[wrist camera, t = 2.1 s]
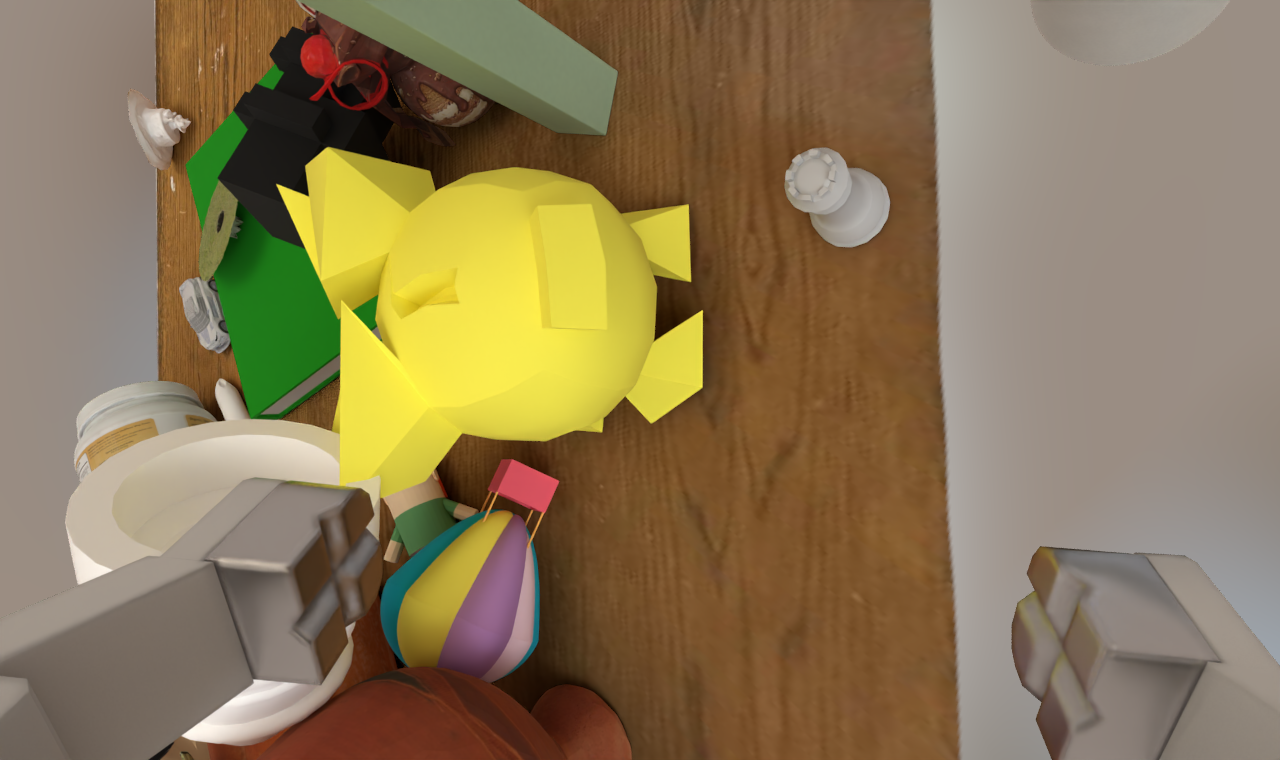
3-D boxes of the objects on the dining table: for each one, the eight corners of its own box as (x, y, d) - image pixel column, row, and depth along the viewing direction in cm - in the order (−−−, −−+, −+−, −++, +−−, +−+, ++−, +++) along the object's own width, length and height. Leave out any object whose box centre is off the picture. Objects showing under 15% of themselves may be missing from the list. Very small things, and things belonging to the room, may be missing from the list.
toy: (294, -18, 52) (180, 155, 47) (402, 21, 51) (297, 199, 47) (350, 91, 63) (262, 239, 59) (439, 124, 62) (357, 275, 58)
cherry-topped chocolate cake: (472, 173, 58) (300, 110, 45) (423, 112, 61) (249, 36, 48) (541, 74, 55) (377, -26, 42) (486, 14, 58) (317, -96, 45)
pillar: (568, 71, 54) (292, -106, 35) (618, 71, 52) (353, -118, 33) (556, 133, 54) (278, -9, 35) (606, 136, 52) (337, -14, 33)
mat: (236, 298, 66) (212, 293, 64) (212, 272, 74) (190, 267, 72) (271, 177, 64) (247, 168, 63) (243, 164, 72) (221, 156, 71)
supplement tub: (231, 579, 74) (185, 442, 80) (282, 516, 69) (228, 374, 75) (87, 610, 64) (47, 451, 70) (133, 539, 59) (85, 373, 65)
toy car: (218, 358, 76) (188, 357, 73) (201, 291, 78) (171, 287, 75) (237, 341, 74) (207, 339, 72) (219, 273, 76) (189, 269, 73)
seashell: (196, 83, 79) (204, 149, 85) (139, 72, 77) (151, 140, 83) (176, 120, 74) (186, 187, 79) (115, 109, 72) (129, 179, 78)
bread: (366, 505, 64) (247, 523, 55) (455, 828, 58) (338, 909, 49) (267, 560, 71) (147, 583, 62) (337, 852, 65) (216, 926, 56)
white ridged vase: (373, 415, 42) (368, 643, 50) (104, 423, 37) (145, 675, 45) (390, 564, 32) (382, 822, 40) (21, 603, 27) (94, 891, 35)
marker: (222, 386, 75) (201, 383, 73) (235, 373, 75) (214, 370, 73) (288, 533, 69) (267, 534, 67) (303, 520, 69) (282, 521, 67)
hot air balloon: (527, 735, 44) (493, 685, 55) (623, 505, 48) (575, 498, 59) (352, 674, 41) (351, 633, 51) (470, 433, 45) (447, 439, 55)
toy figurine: (506, 551, 58) (447, 418, 61) (488, 554, 54) (425, 410, 56) (415, 598, 58) (360, 464, 61) (390, 605, 54) (331, 460, 56)
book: (339, 38, 67) (309, 24, 64) (429, 310, 60) (400, 306, 58) (212, 175, 77) (182, 167, 75) (277, 420, 70) (247, 421, 68)
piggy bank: (479, 230, 58) (237, 162, 41) (699, 151, 48) (499, 20, 31) (507, 485, 56) (264, 522, 39) (743, 457, 46) (554, 491, 29)
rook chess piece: (834, 263, 43) (788, 237, 37) (803, 199, 44) (753, 162, 38) (905, 223, 41) (871, 188, 34) (871, 157, 42) (831, 110, 36)
